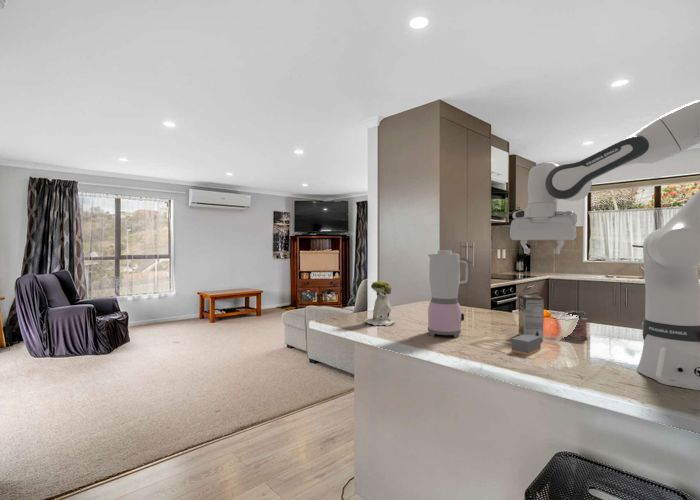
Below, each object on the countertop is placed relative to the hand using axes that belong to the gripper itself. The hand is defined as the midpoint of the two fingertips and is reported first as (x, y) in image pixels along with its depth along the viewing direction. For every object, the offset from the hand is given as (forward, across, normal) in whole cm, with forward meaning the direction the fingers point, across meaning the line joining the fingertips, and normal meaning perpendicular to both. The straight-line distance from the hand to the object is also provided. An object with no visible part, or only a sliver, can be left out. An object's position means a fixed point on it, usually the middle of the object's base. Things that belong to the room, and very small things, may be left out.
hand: (541, 253), depth 124 cm
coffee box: (+31, +5, -4) cm, 32 cm away
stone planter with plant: (+31, +61, +14) cm, 70 cm away
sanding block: (+30, -1, +14) cm, 33 cm away
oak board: (+31, +5, +14) cm, 34 cm away
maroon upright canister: (+31, -4, -20) cm, 37 cm away
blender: (+31, +30, +9) cm, 44 cm away
